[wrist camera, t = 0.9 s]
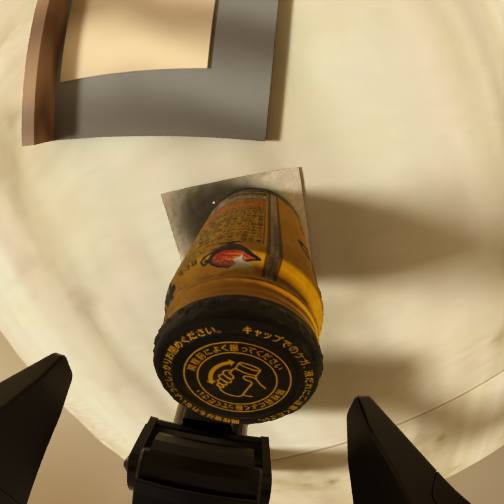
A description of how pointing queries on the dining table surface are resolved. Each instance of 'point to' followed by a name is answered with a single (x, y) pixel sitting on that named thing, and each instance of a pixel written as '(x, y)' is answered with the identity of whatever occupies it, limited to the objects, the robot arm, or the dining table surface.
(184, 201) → the condiment
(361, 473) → the robot arm
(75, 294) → the dining table surface
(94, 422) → the dining table surface
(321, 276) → the dining table surface
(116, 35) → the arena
